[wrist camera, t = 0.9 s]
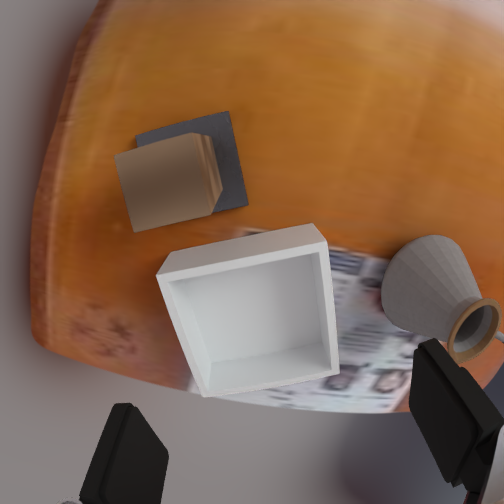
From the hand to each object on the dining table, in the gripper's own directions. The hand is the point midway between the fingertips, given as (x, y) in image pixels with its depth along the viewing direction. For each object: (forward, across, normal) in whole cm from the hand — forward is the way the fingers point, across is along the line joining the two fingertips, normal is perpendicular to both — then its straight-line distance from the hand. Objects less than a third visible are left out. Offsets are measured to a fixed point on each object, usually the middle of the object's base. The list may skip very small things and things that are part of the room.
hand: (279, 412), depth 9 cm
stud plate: (+24, +5, -7) cm, 25 cm away
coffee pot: (+24, -21, +13) cm, 34 cm away
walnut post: (+22, +5, -7) cm, 24 cm away
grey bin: (+23, +2, +8) cm, 25 cm away
